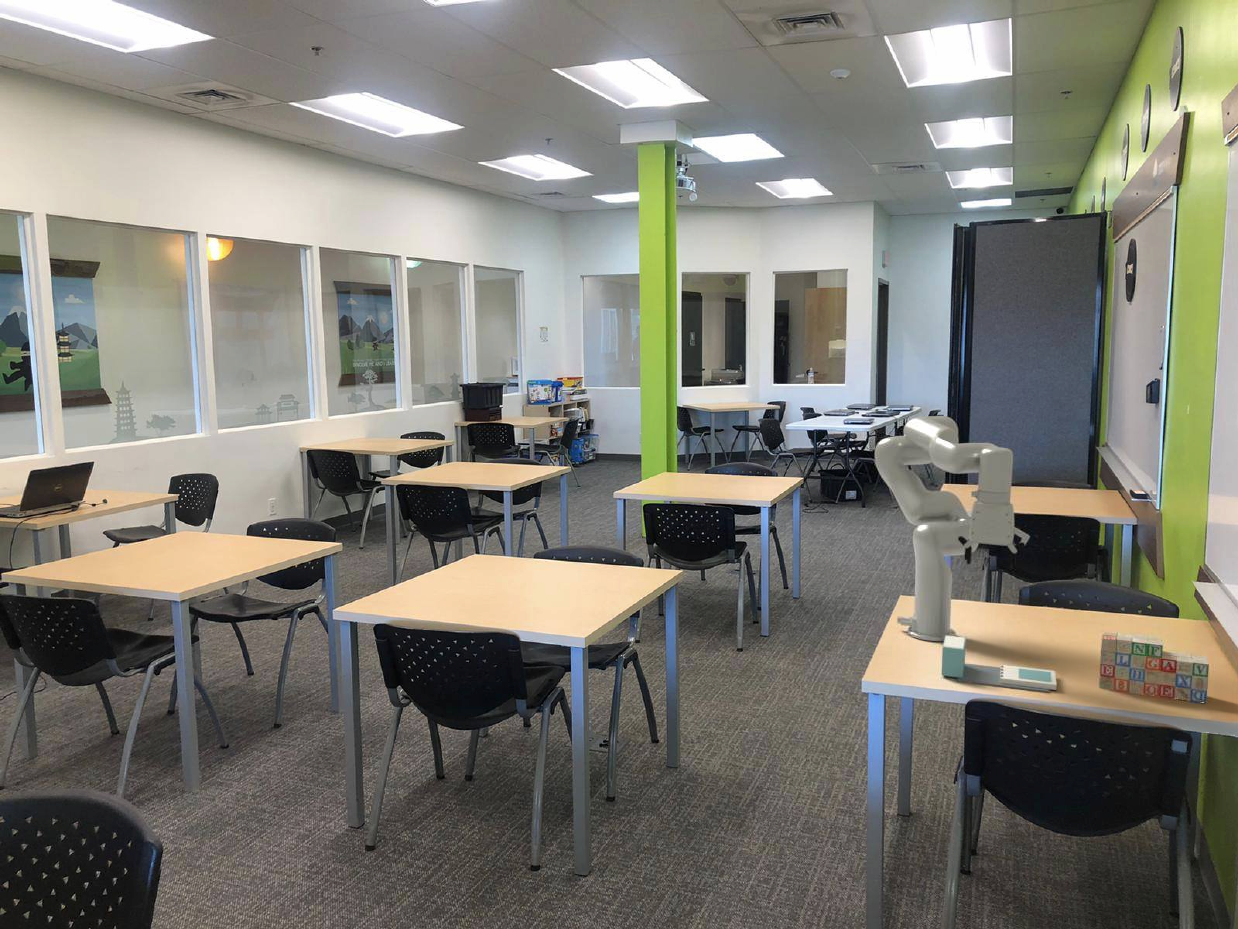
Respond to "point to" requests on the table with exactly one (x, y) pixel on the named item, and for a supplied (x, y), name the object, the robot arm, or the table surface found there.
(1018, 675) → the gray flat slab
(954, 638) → the teal rectangular block
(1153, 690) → the stack of blocks
